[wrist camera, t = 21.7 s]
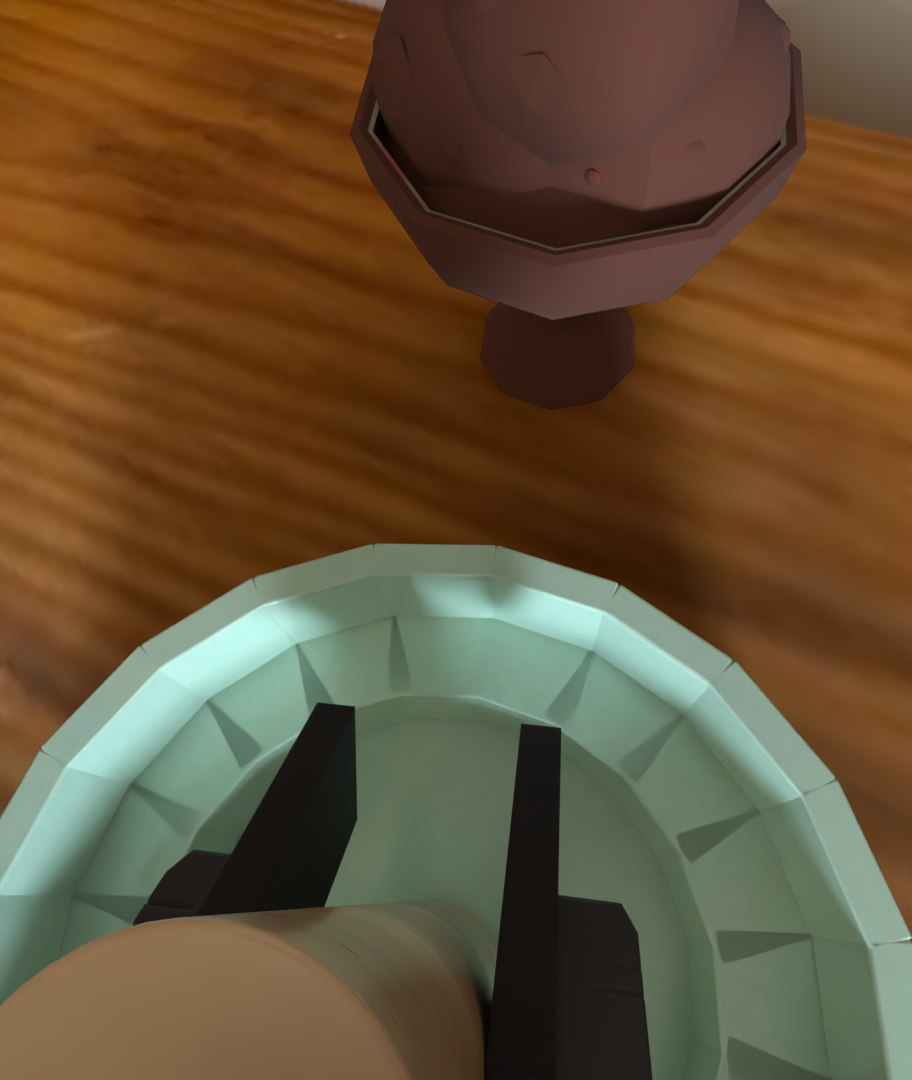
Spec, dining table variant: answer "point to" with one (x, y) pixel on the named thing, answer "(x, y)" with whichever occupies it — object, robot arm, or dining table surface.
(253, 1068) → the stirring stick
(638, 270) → the ice cream bowl
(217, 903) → the robot arm
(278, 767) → the mixing bowl
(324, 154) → the dining table surface
